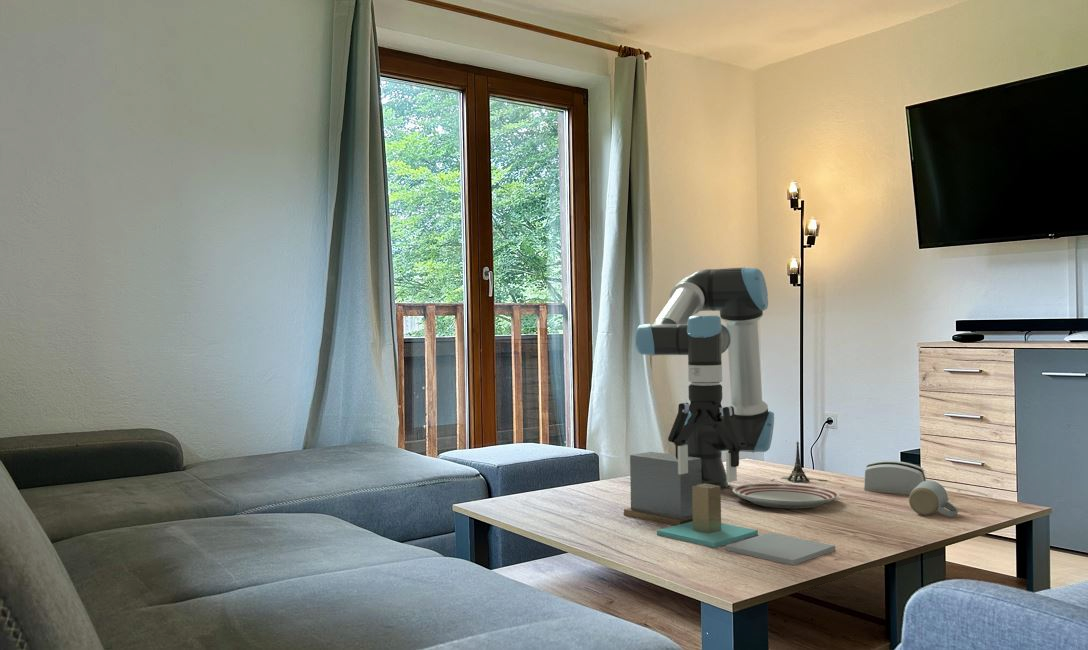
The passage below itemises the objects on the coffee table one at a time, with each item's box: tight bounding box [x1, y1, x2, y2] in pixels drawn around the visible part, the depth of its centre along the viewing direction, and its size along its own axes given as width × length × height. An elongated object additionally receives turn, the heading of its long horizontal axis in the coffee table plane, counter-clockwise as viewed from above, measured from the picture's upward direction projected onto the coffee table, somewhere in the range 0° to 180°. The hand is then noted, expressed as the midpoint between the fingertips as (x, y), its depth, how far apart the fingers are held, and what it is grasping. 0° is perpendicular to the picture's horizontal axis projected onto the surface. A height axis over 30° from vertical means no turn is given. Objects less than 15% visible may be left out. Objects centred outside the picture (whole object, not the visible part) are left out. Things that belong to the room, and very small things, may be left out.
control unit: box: [623, 451, 702, 526], centre depth 213 cm, size 18×11×15 cm, turn 42°
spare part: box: [692, 483, 722, 534], centre depth 195 cm, size 4×4×10 cm
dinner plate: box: [732, 482, 840, 509], centre depth 230 cm, size 28×27×3 cm
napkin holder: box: [863, 460, 927, 496], centre depth 240 cm, size 17×5×10 cm, turn 56°
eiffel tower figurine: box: [769, 441, 829, 484], centre depth 260 cm, size 15×10×13 cm
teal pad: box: [656, 521, 759, 548], centre depth 195 cm, size 16×16×1 cm
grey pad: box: [725, 532, 836, 566], centre depth 180 cm, size 16×16×1 cm
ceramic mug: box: [908, 479, 959, 518], centre depth 212 cm, size 11×8×8 cm
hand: (706, 477), depth 195 cm, fingers open, 13 cm apart
